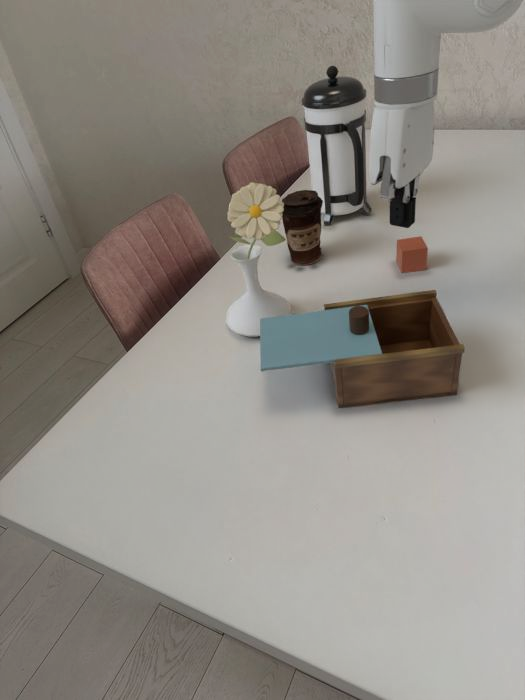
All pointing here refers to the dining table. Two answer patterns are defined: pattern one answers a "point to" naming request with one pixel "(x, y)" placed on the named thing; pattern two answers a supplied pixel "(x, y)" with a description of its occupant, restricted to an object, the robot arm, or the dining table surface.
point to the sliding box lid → (317, 337)
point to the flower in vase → (254, 256)
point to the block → (411, 254)
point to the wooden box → (401, 353)
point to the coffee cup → (303, 226)
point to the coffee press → (337, 143)
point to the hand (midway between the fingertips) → (402, 223)
